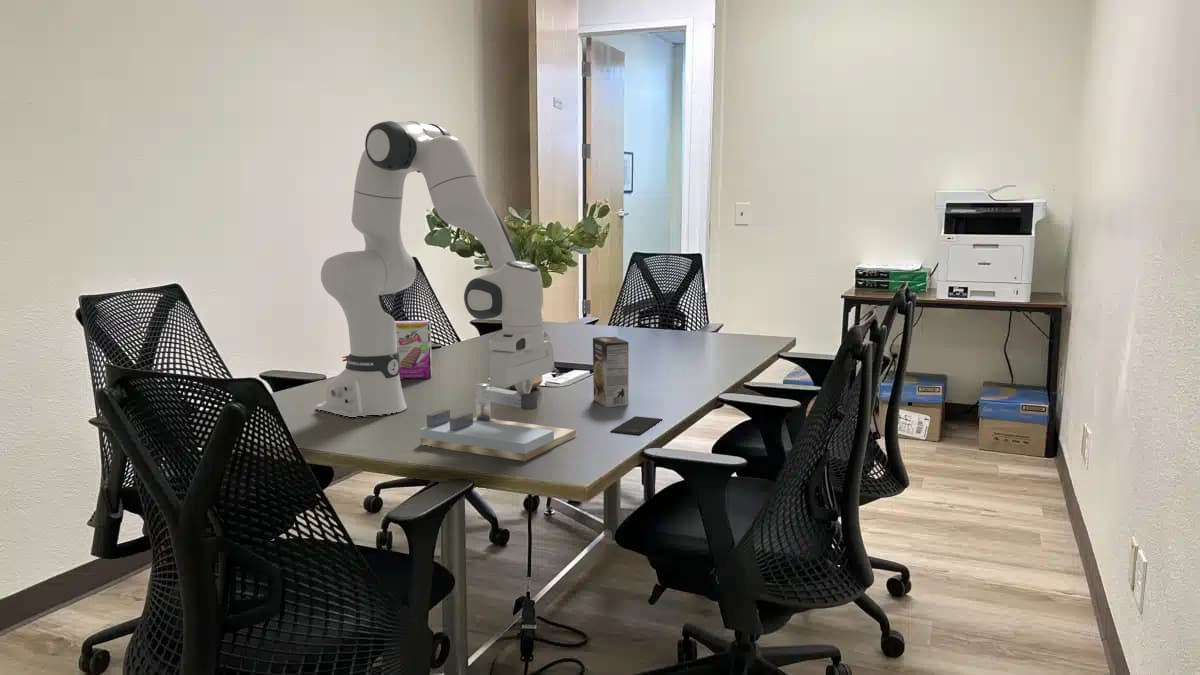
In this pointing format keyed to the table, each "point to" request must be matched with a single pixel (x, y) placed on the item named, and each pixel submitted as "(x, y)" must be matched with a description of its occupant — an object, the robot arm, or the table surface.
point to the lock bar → (500, 400)
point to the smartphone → (636, 426)
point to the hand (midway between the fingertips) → (524, 399)
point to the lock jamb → (491, 436)
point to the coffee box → (610, 371)
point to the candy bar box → (414, 349)
